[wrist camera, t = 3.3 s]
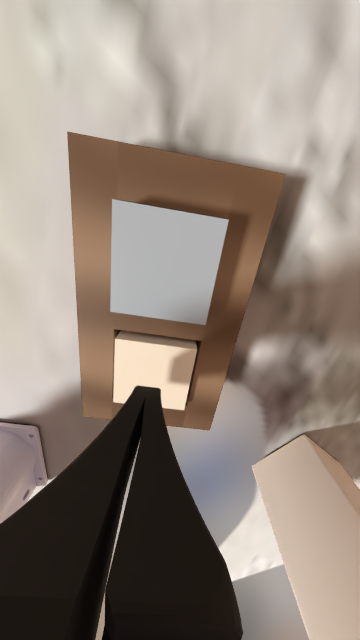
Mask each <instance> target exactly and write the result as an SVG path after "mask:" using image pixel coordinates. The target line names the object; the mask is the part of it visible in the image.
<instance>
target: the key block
mask: <svg viewBox="0 0 360 640" xmlns="http://www.w3.org/2000/svg"><path fill="white" fill-rule="evenodd" d="M67 134H68V152H69V171H70V189H71V208H72V226H73V244H74V263H75V281H76V300H77V318H78V336H79V355H80V373H81V392H82V410H83V417H92V418H101V419H110V420H112V419H113V418H114V417H115V415H116V414H117V413H118V411H119V410H120V409H121V407H122V406H123V405H124V403H115V402H113V393H114V355H115V338H116V337H117V335H118V334H119V332H120V331H121V330H125V331H132V332H140V333H147V334H154V335H161V336H169V337H176V338H183V339H191V340H196V346H197V353H196V357H195V362H194V367H193V371H192V376H191V381H190V385H189V390H188V395H187V399H186V404H185V409H184V410H177V409H168V408H162V409H163V415H164V419H165V423H166V426H176V427H184V428H194V429H203V430H210V428H211V424H212V421H213V418H214V414H215V411H216V407H217V404H218V401H219V397H220V394H221V391H222V387H223V384H224V381H225V377H226V374H227V370H228V367H229V364H230V360H231V357H232V354H233V350H234V347H235V343H236V340H237V337H238V333H239V330H240V327H241V323H242V320H243V317H244V313H245V310H246V306H247V303H248V300H249V296H250V293H251V290H252V286H253V283H254V280H255V276H256V273H257V269H258V266H259V263H260V259H261V256H262V253H263V249H264V246H265V243H266V239H267V236H268V232H269V229H270V226H271V222H272V219H273V216H274V212H275V209H276V206H277V202H278V199H279V195H280V192H281V189H282V185H283V182H284V179H285V175H286V174H282V173H277V172H272V171H267V170H262V169H257V168H251V167H246V166H241V165H236V164H231V163H226V162H221V161H215V160H210V159H205V158H200V157H195V156H190V155H185V154H179V153H174V152H169V151H164V150H159V149H154V148H149V147H143V146H138V145H133V144H128V143H123V142H118V141H113V140H107V139H102V138H97V137H92V136H87V135H82V134H77V133H72V132H67ZM112 199H115V200H120V201H126V202H132V203H137V204H143V205H149V206H154V207H160V208H166V209H171V210H177V211H183V212H188V213H194V214H200V215H205V216H211V217H217V218H222V219H228V220H229V221H228V226H227V230H226V235H225V239H224V244H223V248H222V253H221V257H220V262H219V267H218V271H217V276H216V280H215V285H214V289H213V294H212V298H211V303H210V307H209V312H208V316H207V321H206V325H201V324H193V323H186V322H179V321H172V320H165V319H158V318H151V317H144V316H137V315H130V314H123V313H116V312H110V302H111V236H112Z"/></svg>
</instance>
